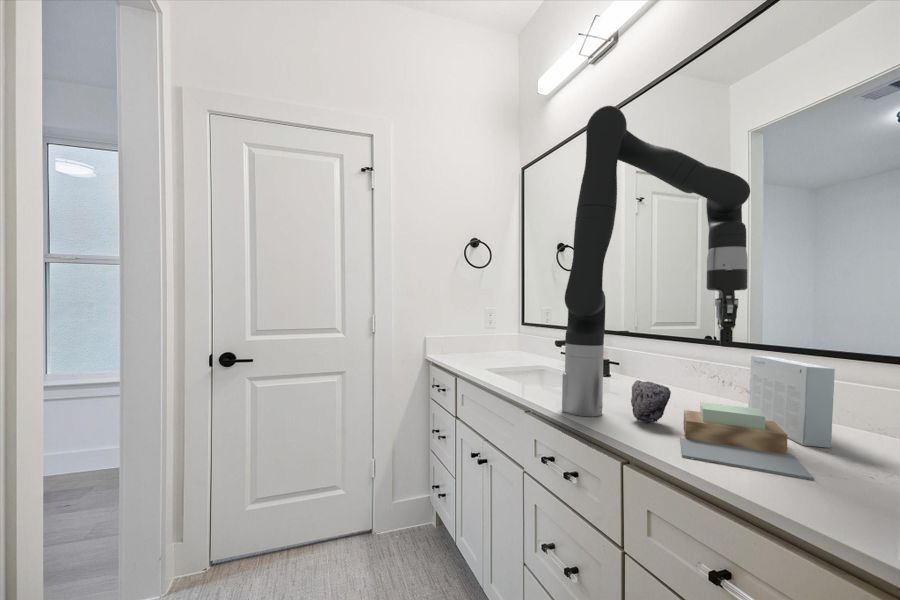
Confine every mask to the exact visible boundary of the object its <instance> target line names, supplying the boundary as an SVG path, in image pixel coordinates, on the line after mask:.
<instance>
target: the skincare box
mask: <svg viewBox="0 0 900 600" xmlns="http://www.w3.org/2000/svg"><path fill="white" fill-rule="evenodd" d="M749 370H750V375H749V376H750V377H749V388H748V389H749V390H748V395H749V398H748V407H747V408H756V409H758V410H759V411H760V412H761V413H762V414H763V415H764V416H765V420H767V421H774V422H775V423H776V424H777V425H778V426H779V427H780V428H781V429H782V430H783V431H784V432H785V433H786V434H787V439H790V440H791V441H794V442H795V443H797V444H799V445H802V446H807V447H819V448H827V449H828V448H830V449H831V448H832V438H833V437H832V433H833V432H832V431H833V411H834V410H833V409H834V392H835V391H834V390H835V373H836V372H835V371H836V369H835V368H832V367H827V366H823V365H818V364H814V363H813V364H812V363H809V362H801V361H797V360H791V359H787V358H780V357H775V356H767V355H766V356H763V355H752V354H751V355H750V369H749Z"/></svg>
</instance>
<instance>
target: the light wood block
mask: <svg viewBox="0 0 900 600" xmlns="http://www.w3.org/2000/svg"><path fill="white" fill-rule="evenodd" d="M683 432H684V438H685V439H691V440H698V441H704V442H711V443H717V444H723V445H730V446H736V447H742V448H749V449H755V450H762V451H768V452H774V453H781V454H787V455H788V438H787V434H786V433H785V432H784V431H783V430H782V429H781V428H780V427H779V426H778V425H777V424H776V423H775V422H774V421H767V420H765V430H763V429H755V428H748V427H741V426H733V425H726V424H719V423H711V422H704V421H703V420H702V417H701V414H700V411H695V410H694V411H693V410H688V409H687V410H686V409H683Z"/></svg>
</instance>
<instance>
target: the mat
mask: <svg viewBox="0 0 900 600" xmlns="http://www.w3.org/2000/svg"><path fill="white" fill-rule="evenodd" d="M679 442H680V450H681V451H680V452H681V458H684V457H687V458H686V459H690V458H693V459H692V460H695V459H698V460H697V461H701V460H703V461H702V462H707V461H709V462H708V463H712V462H715V463H714V464H718V463H720V464H719V465H724V466H731V467H735V468H741V469H746V470H747V469H748V470H752V471H758V472H765V473H769V474H774V475H775V474H776V475H780V476H781V475H782V476H787V477H793V478H797V479H798V478H799V479H803V480H804V479H805V480H808V481H809V480H810V481H815V477H814V476H813V475H812V473H811V472H810V471H809V470H808V469H807V468H806V467H805V466H804V465H803V463H802V462H801V461H800V460H799V459H798V458H797V457H796V456H795V455H793V454H788V453H787V454H781V453H774V452H768V451H762V450H755V449H749V448H742V447H736V446H730V445H723V444H717V443H711V442H704V441H698V440H691V439H685V437H679Z"/></svg>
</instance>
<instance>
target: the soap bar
mask: <svg viewBox="0 0 900 600" xmlns="http://www.w3.org/2000/svg"><path fill="white" fill-rule="evenodd" d="M699 408H700V411H699V412H700V414H701V417H702V420H703V421H704V422H711V423H719V424H726V425H733V426H741V427H748V428H755V429H763V430H765V416H764V415H763V414H762V413H761V412H760V411H759V410H758V409H756V408H748V407H745V406H740V405H739V406H736V405H729V404H719V403H714V402H712V403H711V402H705V401H704V402H703V401H700V407H699Z"/></svg>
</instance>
